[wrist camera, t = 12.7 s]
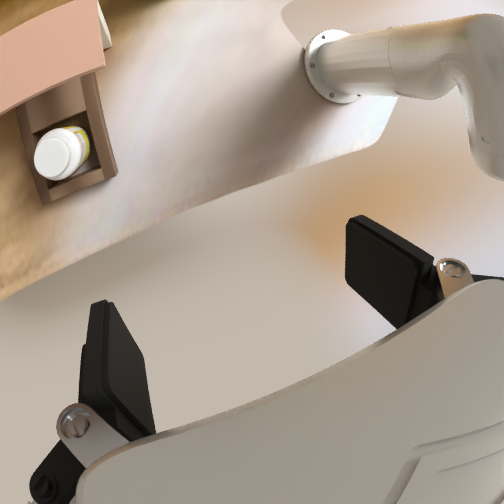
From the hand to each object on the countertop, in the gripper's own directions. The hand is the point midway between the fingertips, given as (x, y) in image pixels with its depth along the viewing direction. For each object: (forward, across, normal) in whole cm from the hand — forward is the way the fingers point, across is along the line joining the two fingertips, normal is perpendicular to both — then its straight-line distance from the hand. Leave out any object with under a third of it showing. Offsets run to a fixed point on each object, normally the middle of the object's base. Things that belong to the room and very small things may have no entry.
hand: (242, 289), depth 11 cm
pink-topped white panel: (+30, +12, -16) cm, 36 cm away
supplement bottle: (+31, +12, -6) cm, 33 cm away
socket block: (+30, +12, -8) cm, 34 cm away
